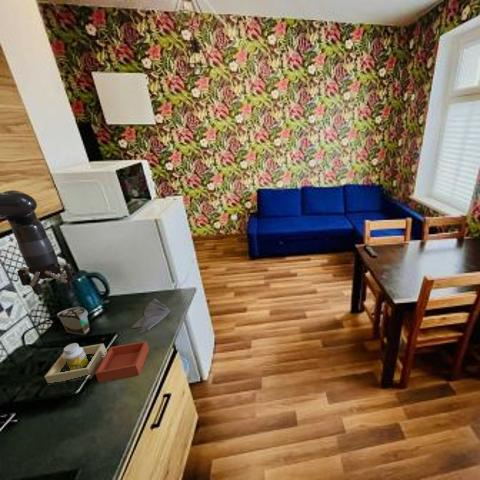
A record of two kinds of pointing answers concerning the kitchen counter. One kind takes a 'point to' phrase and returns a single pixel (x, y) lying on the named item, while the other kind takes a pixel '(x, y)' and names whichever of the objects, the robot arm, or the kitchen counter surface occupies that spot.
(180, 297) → the kitchen counter surface
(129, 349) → the terracotta bin
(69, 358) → the supplement bottle
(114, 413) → the kitchen counter surface
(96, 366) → the cream bin
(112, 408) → the kitchen counter surface
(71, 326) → the food container
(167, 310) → the cloth
